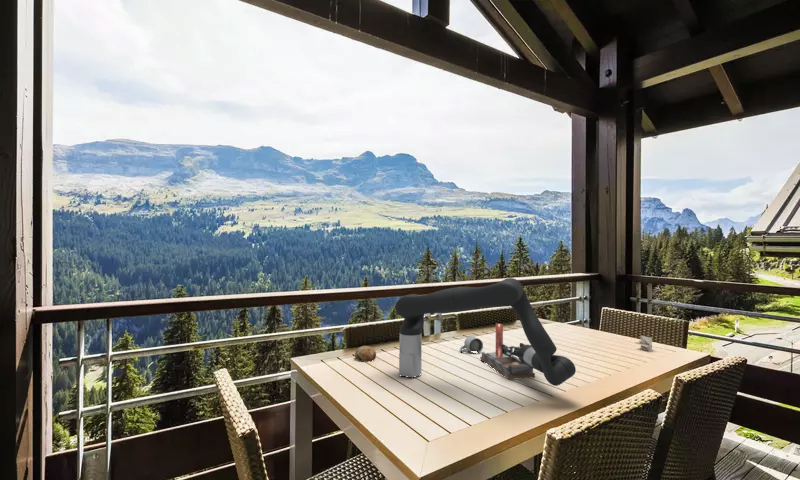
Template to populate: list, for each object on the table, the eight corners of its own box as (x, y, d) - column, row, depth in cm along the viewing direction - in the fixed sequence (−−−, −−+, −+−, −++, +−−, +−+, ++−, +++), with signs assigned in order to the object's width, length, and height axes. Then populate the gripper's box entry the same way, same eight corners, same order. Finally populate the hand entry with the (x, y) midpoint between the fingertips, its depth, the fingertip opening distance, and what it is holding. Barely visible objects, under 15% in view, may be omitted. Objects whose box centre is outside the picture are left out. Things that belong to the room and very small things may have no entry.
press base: (534, 377, 160) (534, 364, 160) (508, 379, 157) (508, 366, 157) (503, 358, 185) (503, 347, 185) (480, 360, 182) (480, 349, 182)
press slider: (512, 362, 174) (512, 325, 174) (494, 363, 172) (494, 326, 172) (503, 357, 182) (503, 322, 182) (486, 358, 180) (486, 322, 180)
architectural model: (648, 353, 195) (648, 338, 195) (634, 350, 202) (634, 335, 202) (652, 352, 197) (652, 337, 197) (638, 349, 203) (638, 334, 203)
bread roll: (353, 366, 184) (348, 353, 181) (363, 352, 192) (360, 339, 189) (370, 370, 180) (366, 356, 176) (381, 355, 188) (377, 341, 185)
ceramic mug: (476, 348, 201) (476, 334, 201) (483, 353, 193) (483, 337, 193) (457, 350, 199) (457, 335, 199) (463, 355, 191) (463, 339, 191)
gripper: (549, 346, 152) (526, 336, 168) (516, 348, 149) (496, 338, 165) (548, 365, 152) (526, 353, 168) (516, 368, 149) (495, 355, 165)
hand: (511, 345), depth 167 cm, fingers open, 8 cm apart
